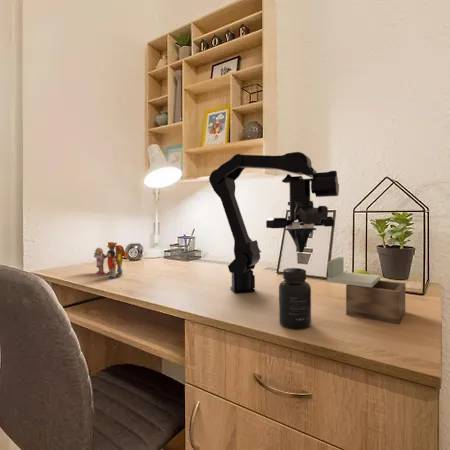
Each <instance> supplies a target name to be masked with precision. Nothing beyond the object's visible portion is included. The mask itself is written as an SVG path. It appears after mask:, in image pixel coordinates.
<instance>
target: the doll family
mask: <svg viewBox="0 0 450 450" xmlns="http://www.w3.org/2000/svg"><path fill="white" fill-rule="evenodd" d="M106 247H107V248H108V251H107V253H106V254H105V253H104V250H103V249H102V248H101V247H96V248H95V250H94V253H93V258H94V259H96V265H95V267H96V268H98V271H96V274H97V275H104V274H106V273H105V272H104V265H105V264H104V263H105V260H106V258H107V268H108V270H109V271H108V272H107V275H109V276H108V280H115V279H117V278H119V277H124V274H123V272H124V271H123V268H122V265H123V260H124V259H128V258H129V256H130V254H129V253H128V252H126V251H125V249H124V248H125V247H123V245H120V244H118V242H113V241H110V242H107V246H106ZM116 272H117V273H116Z"/></svg>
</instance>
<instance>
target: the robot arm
mask: <svg viewBox="0 0 450 450" xmlns="http://www.w3.org/2000/svg"><path fill="white" fill-rule="evenodd" d="M245 169H259V170H260V169H262V170H279V171H284V172H287V173H288V174H286V176H285V177H284V178H283V179H282V180H281V182H282V183H285V184H288V185H289V201H288V202H287V206H289V215H288V216H287V217H268V218H267V219H266V222H265V224H266V225H265V226H266V228H267V229H284V231H288V233H289V235H290V237H291V239H292V240H293V243H294V246H295V248H296V249H297V251H298V253H299V254H300V253H301V254H302V253H304V250H305V248H306V244H307V241H308V239H309V237H310V235H311V233H312V232H314V231H316V230H317V227H319V226H320V227H323V226H324V227H335V219H334V217H333V216H328V215H329V210H328V208H329V207H328V206H326V205H318V206H317V207H315V206H314V200H311V193H312V194H314V195H315V197H316V198H320V197H321V198H323V197H324V198H326V197H338V196H339V192H340V184H339V178H338V171H337V170H330V171H323V172H317V170H316V169H314V168H313V167H312V161H311V159H310V157H308V156H307V155H306V154H304V153H303V152H301V151H294V152H287V153H283V154H280V155H265V154H264V155H262V154H261V155H259V154H257V155H256V154H241V153H236V154H234V155H233V156H232V157H231V158H230V159H229V160H227V161H226V162H224V163H222V164H220V166H219V167H217V169H214V170H212V172H211V173H210V176H209V179H208V181H209V183H210V185H211V187H212V190H213V192H214V193H215V194H216V195H217V196H218V197H219V199H220V201H221V204H222V207H223V210H224V213H225V216H226V219H227V222H228V225H229V229H230V231H231V233H232V238H233V242H234V246H233V254H234V259H233V260H232V261H231V262H230V264H228V265H227V268H228V272H229V273H231V286H230V290H231V291H233V292H234V293H235V294H240V293H252V292H253V293H254V292H256V289H255V288H256V283H255V282H256V278H255V277H256V276H255V274H254V269H255V267H256V265H257V264H258V263H259V261H260V259H261V254H260V253H262V251H261V249H260V248H259V243H258V240H252V239H251V238H250V236H249V233H248V231H247V227H246V224H245V222H244V219H243V216H242V213H241V210H240V206H239V204H238V202H237V201H238V200H237V199H236V195H235V194H236V182H235V181H237V179H238V178H239V177H240V176H241V174H242V173H243V171H244V170H245ZM289 173H290V174H289ZM291 174H295V175H296V176H295V175H294V176H292V175H291ZM303 176H307V177H309V178H303Z"/></svg>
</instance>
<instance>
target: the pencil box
mask: <svg viewBox="0 0 450 450" xmlns="http://www.w3.org/2000/svg"><path fill="white" fill-rule="evenodd" d="M345 285H346V286H345V296H346V298H345V300H346V301H345V305H346V306H345V315H347V316H352V317H353V316H354V317H357V318H358V317H359V318H364V319H369V320H375V321H380V322H384V323H385V322H386V323H390V324H395V325H401V321H402V320H403V318H404V315H405V313H406V283H405V282H401V281H400V282H398V281H391V280H383V279H382V280H381V279H380V280H379V281H378V282H377V283H376V284H375V285H374V286H373V287H372V288H371V287H363V286H355V285H347V284H345Z"/></svg>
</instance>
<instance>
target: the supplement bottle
mask: <svg viewBox="0 0 450 450" xmlns="http://www.w3.org/2000/svg"><path fill="white" fill-rule="evenodd" d="M282 271H283V275H282V279H284V280H283V281H281V282H280V283H279V284H278V285H279V286H278V305H279V306H278V307H279V308H278V311H279V313H278V317H279V321H278V322H279V324H280V325H281V326H283V327H284V328H286V329H290V330H304V329H308V328H309V327H310V326H311V325H312V286H311V284H310V283H309V282H308V281H306V280H307V271H306V269H304V268H298V267H291V268H290V267H288V268H284V269H283V270H282Z"/></svg>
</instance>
